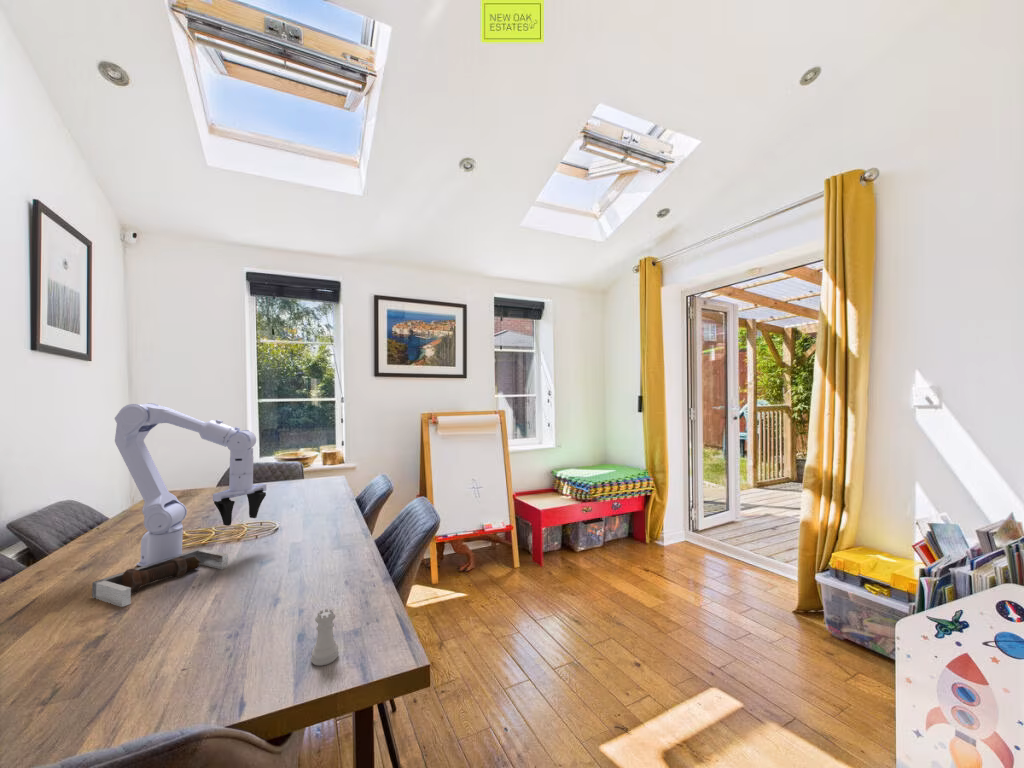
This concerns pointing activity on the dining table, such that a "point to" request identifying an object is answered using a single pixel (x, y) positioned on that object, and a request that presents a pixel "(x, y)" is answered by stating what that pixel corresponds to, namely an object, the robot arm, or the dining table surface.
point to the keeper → (121, 595)
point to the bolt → (158, 573)
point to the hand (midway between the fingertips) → (240, 521)
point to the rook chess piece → (324, 640)
